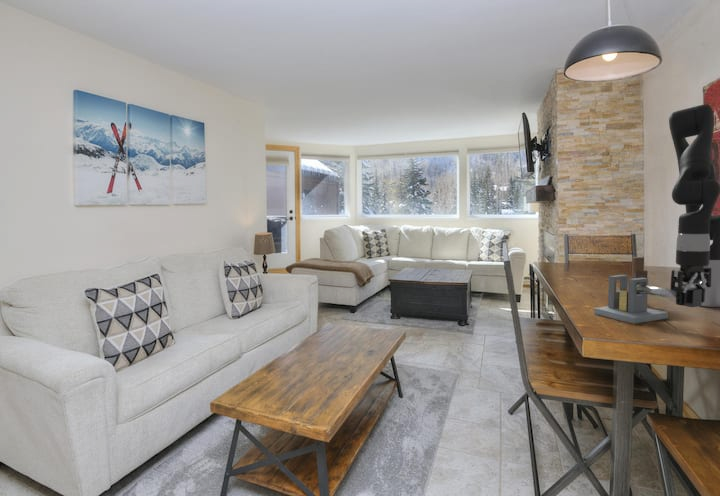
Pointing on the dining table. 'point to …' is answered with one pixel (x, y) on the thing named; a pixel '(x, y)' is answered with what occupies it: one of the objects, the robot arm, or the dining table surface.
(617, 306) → the bracket
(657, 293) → the shaft
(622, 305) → the spacer
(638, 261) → the wooden block
